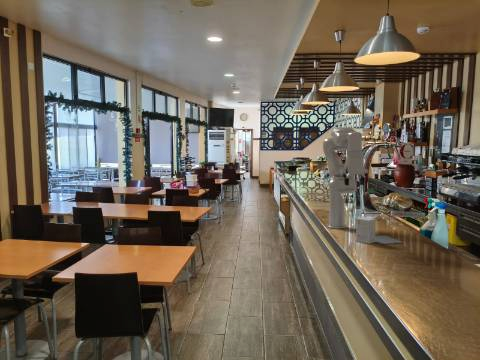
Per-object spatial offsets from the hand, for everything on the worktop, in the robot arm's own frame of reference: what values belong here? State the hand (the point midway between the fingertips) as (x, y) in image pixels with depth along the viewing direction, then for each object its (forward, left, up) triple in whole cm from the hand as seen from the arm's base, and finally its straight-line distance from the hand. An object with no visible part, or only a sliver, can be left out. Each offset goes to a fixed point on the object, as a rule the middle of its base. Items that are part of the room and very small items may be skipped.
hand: (354, 185), depth 208 cm
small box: (+5, +5, -32) cm, 32 cm away
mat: (+5, +16, -31) cm, 36 cm away
